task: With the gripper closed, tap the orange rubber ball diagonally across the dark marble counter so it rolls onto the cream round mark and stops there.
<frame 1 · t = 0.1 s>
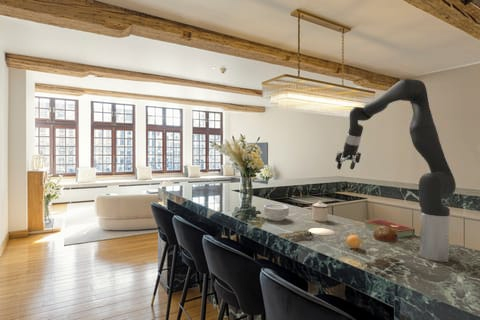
hand: (345, 168, 164), 31 cm above the worktop, tool tilted 20°, fingers open, 8 cm apart
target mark: (321, 231, 145), on the worktop
paper bowls: (275, 219, 171), on the worktop
hardcover book: (387, 232, 148), on the worktop
bread roll: (385, 239, 135), on the worktop
ball: (353, 241, 120), on the worktop
teacup with lid: (318, 219, 172), on the worktop
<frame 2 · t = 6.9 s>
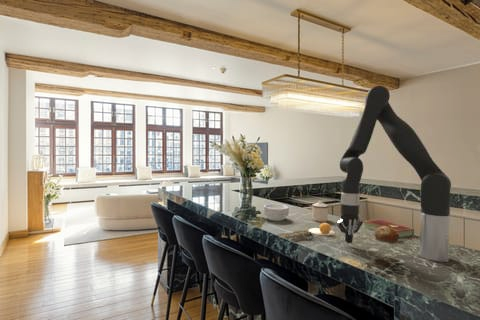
hand: (348, 242, 123), 2 cm above the worktop, tool pointing down, fingers closed
ball: (325, 228, 141), on the worktop
everything else where it was.
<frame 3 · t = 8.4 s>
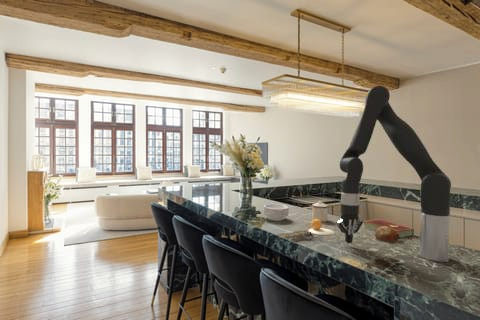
hand: (348, 242, 123), 2 cm above the worktop, tool pointing down, fingers closed
ball: (316, 224, 149), on the worktop
everything else where it was.
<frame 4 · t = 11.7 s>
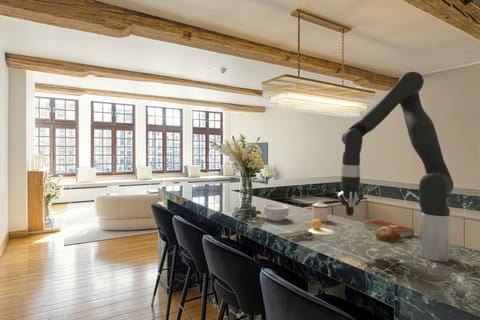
hand: (349, 215, 122), 14 cm above the worktop, tool pointing down, fingers closed
at the end: ball 4.5 cm from the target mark (horizontally); ball at rest at the end (0.0 cm/s); ball moved 30.0 cm from its start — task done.
